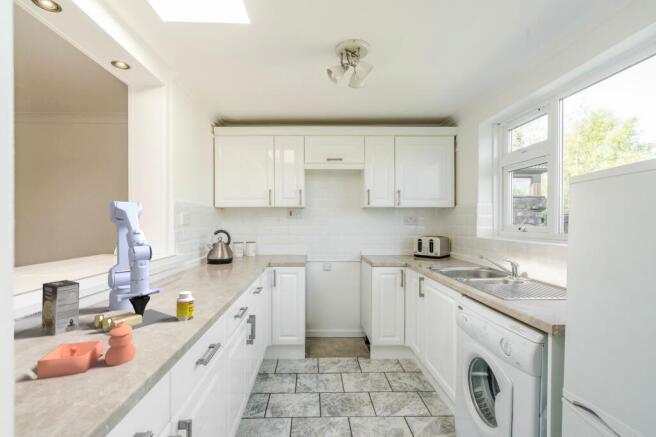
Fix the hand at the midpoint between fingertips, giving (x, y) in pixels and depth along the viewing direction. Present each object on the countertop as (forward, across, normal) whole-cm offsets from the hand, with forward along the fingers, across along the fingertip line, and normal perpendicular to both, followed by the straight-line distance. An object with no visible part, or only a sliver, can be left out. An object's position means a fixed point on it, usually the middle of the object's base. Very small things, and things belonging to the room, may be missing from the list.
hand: (139, 317), depth 103 cm
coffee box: (+2, -18, +12) cm, 22 cm away
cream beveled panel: (+1, -5, 0) cm, 5 cm away
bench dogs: (+1, -11, 0) cm, 11 cm away
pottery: (+2, -21, -22) cm, 30 cm away
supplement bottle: (+2, +10, -12) cm, 16 cm away
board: (+2, -2, +1) cm, 3 cm away
